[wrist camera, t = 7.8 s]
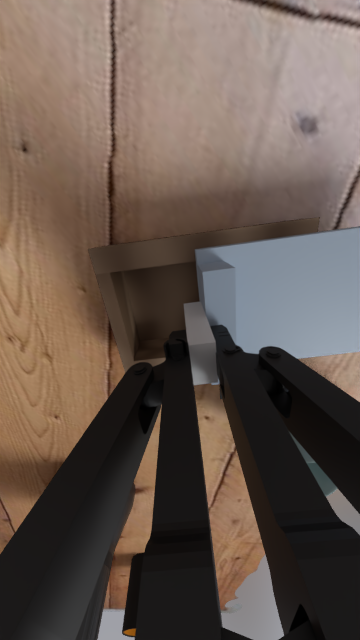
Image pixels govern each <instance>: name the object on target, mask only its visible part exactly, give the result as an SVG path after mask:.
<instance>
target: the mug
mask: <svg viewBox="0 0 360 640" xmlns="http://www.w3.org/2000/svg"><path fill="white" fill-rule="evenodd" d="M143 558H144V553H140V554H137V555H135V556H134V557H133V558H132V563H131V570H130V578H129V585H128V592H127V600H126V607H125V615H124V623H123V630H122V634H123V635H125V636H129V637H135V632H136V622H137V612H138V602H139V592H140V583H141V573H142V565H143Z"/></svg>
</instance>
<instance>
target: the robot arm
mask: <svg viewBox="0 0 360 640" xmlns="http://www.w3.org/2000/svg"><path fill="white" fill-rule="evenodd" d="M184 314H185V323H186V330H178V331H172V332H171V334H170V335H169V340H167V341H166V342H165V343H164V345H163V347H164V353H165V358H166V360H165V361H164V362H163V363H161V364H159V365H156V366H153V367H152V365H151V364H150V363H148V362H139V363H136V364H134V365H132V366H131V367H130V368H129V369H128V370H127V372H126V373H125V375H124V376H123V378H122V379H121V380H120V382H119V383H118V385H117V386H116V388H115V389H114V391H113V392H112V393H111V395H110V396H109V398H108V399H107V401H106V402H105V404H104V405H103V406H102V408H101V409H100V411H99V412H98V414H97V415H96V417H95V418H94V419H93V421H92V422H91V424H90V425H89V427H88V428H87V430H86V431H85V433H84V434H83V435H82V437H81V438H80V440H79V441H78V443H77V444H76V446H75V447H74V448H73V450H72V451H71V453H70V454H69V456H68V457H67V459H66V460H65V461H64V463H63V464H62V466H61V467H60V469H59V470H58V472H57V473H56V474H55V476H54V477H53V479H52V480H51V482H50V483H49V485H48V486H47V488H46V489H45V490H44V492H43V493H42V495H41V496H40V498H39V499H38V501H37V502H36V503H35V505H34V506H33V508H32V509H31V511H30V512H29V514H28V515H27V516H26V518H25V519H24V521H23V522H22V524H21V525H20V527H19V528H18V530H17V531H16V532H15V534H14V535H13V537H12V538H11V540H10V541H9V543H8V544H7V545H6V547H5V548H4V550H3V551H2V553H1V554H0V640H97V639H98V633H99V627H100V623H101V617H102V612H103V607H104V602H105V597H106V591H107V586H108V581H109V575H110V570H111V565H112V560H113V555H114V551H115V548H116V545H117V543H118V540H119V538H120V536H121V533H122V531H123V528H124V526H125V524H126V521H127V519H128V516H129V514H130V512H131V509H132V506H133V502H134V496H135V485H134V483H133V482H134V479H135V476H136V474H137V471H138V468H139V466H140V463H141V460H142V457H143V455H144V452H145V449H146V446H147V444H148V441H149V438H150V436H151V433H152V430H153V427H154V425H155V422H156V419H157V417H158V414H159V411H160V408H161V404H162V409H161V422H160V434H159V446H158V459H157V471H156V484H155V496H154V508H153V521H152V530H151V536H150V539H149V541H148V543H147V545H146V548H145V553H144V558H143V565H142V573H141V583H140V592H139V602H138V612H137V622H136V632H135V640H252V639H250V638H247V637H245V636H242V635H240V634H237V633H235V632H232V631H230V630H227V629H225V628H223V627H222V620H221V610H220V602H219V594H218V586H217V578H216V570H215V561H214V553H213V544H212V536H211V527H210V519H209V510H208V502H207V493H206V485H205V476H204V468H203V459H202V451H201V442H200V434H199V425H198V417H197V408H196V400H195V391H194V385H200V384H209V383H217V382H218V379H219V383H220V399H222V398H223V402H224V406H225V409H226V413H227V417H228V420H229V424H230V427H231V431H232V435H233V438H234V442H235V445H236V449H237V453H238V456H239V460H240V464H241V467H242V471H243V474H244V478H245V482H246V485H247V489H248V492H249V496H250V500H251V503H252V507H253V511H254V514H255V518H256V521H257V525H258V529H259V532H260V536H261V539H262V543H263V547H264V550H265V554H266V557H267V561H268V565H269V569H270V574H271V579H272V586H273V592H274V596H275V601H276V605H277V609H278V613H279V617H280V621H281V624H282V628H283V632H284V636H283V637H282V638H281V639H279V640H360V535H359V534H358V533H357V532H356V531H355V530H354V529H353V528H352V527H350V526H349V525H347V524H346V523H344V522H342V521H341V520H340V519H339V517H338V516H337V515H336V514H335V512H334V510H333V509H332V507H331V506H330V504H329V502H328V500H327V498H326V496H325V495H324V493H323V491H322V489H321V488H320V486H319V484H318V482H317V481H316V479H315V477H314V475H313V473H312V472H311V470H310V468H309V466H308V465H307V463H306V461H305V459H304V457H303V456H302V454H301V452H300V450H299V449H298V447H297V445H296V443H295V442H294V440H293V438H292V436H291V434H292V435H293V437H294V438H295V439H296V440H297V441H298V442H299V444H300V445H301V446H302V447H303V448H304V449H305V451H306V452H307V453H308V454H309V455H310V456H311V458H312V459H313V460H314V461H315V462H316V463H317V465H318V466H319V467H320V468H321V469H322V470H323V472H324V473H325V474H326V475H327V476H328V477H329V479H330V480H331V481H332V482H333V483H334V485H335V486H336V487H337V488H338V489H339V490H340V491H341V493H342V494H343V495H344V496H345V497H346V499H347V500H348V501H349V502H350V503H351V504H352V506H353V507H354V508H355V509H356V510H357V511H358V513H359V514H360V402H358V401H357V400H356V399H354V398H353V397H351V396H350V395H348V394H347V393H345V392H344V391H343V390H341V389H340V388H338V387H337V386H335V385H334V384H333V383H331V382H330V381H328V380H327V379H325V378H324V377H322V376H321V375H320V374H318V373H317V372H315V371H314V370H312V369H311V368H309V367H308V366H307V365H305V364H304V363H302V362H301V361H299V360H298V359H297V358H295V357H294V356H292V355H291V354H289V353H288V352H286V351H285V350H283V349H281V348H279V347H275V346H267V347H263V348H261V349H260V350H259V354H254V353H246V352H244V351H243V349H242V348H241V347H240V346H238V345H235V343H234V341H233V339H232V337H231V335H230V333H229V331H228V329H227V328H226V327H225V326H223V325H214V326H210V325H209V322H208V319H207V317H206V315H205V312H204V309H203V306H202V304H201V301H200V302H193V303H185V304H184ZM289 432H290V433H291V434H290V433H289Z"/></svg>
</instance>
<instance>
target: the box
mask: <svg viewBox="0 0 360 640" xmlns="http://www.w3.org/2000/svg"><path fill="white" fill-rule="evenodd" d="M319 219H320V217H318V218H309V219H299V220H290V221H283V222H275V223H268V224H261V225H253V226H246V227H239V228H232V229H224V230H217V231H210V232H203V233H195V234H188V235H181V236H174V237H166V238H159V239H152V240H144V241H137V242H130V243H123V244H115V245H108V246H102V247H97V248H91V249H88V251H89V255H90V258H91V261H92V265H93V268H94V271H95V274H96V278H97V281H98V284H99V288H100V291H101V294H102V298H103V301H104V304H105V307H106V311H107V314H108V317H109V321H110V324H111V327H112V331H113V334H114V337H115V340H116V344H117V347H118V350H119V354H120V357H121V360H122V364H123V367H124V370H125V373H126V372H127V370H128V369H129V368H130V367H131V366H132V365H134V364H136V363H139V362H148V363H150V364H151V365H152V367H153V366H156V365H159V364H161V363H163V362H164V361H165V360H166V358H165V353H164V347H163V345H164V343H165V342H166V341H167V340H169V335H170V334H171V332H172V331H178V330H186V323H185V314H184V304H185V303H193V302H200V301H199V290H198V280H197V269H196V258H195V249H200V248H207V247H215V246H222V245H229V244H236V243H243V242H250V241H258V240H265V239H272V238H279V237H286V236H293V235H301V234H308V233H315V232H318V225H319Z"/></svg>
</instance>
